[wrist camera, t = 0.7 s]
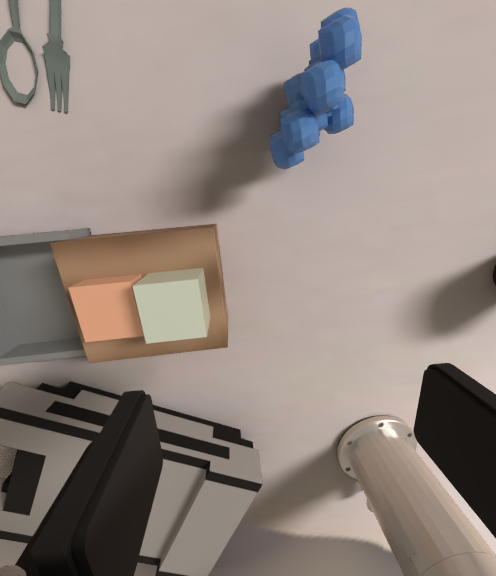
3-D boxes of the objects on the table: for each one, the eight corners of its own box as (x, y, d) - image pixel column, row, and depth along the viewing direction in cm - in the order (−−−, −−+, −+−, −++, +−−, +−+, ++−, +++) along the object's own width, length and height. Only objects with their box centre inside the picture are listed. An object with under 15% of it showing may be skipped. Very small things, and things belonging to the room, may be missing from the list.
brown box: (228, 319, 32) (227, 347, 26) (118, 331, 32) (88, 362, 25) (216, 223, 29) (212, 227, 22) (92, 235, 28) (49, 243, 22)
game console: (33, 363, 33) (-29, 411, 25) (256, 428, 38) (262, 484, 31) (7, 475, 38) (-51, 544, 30) (207, 517, 44) (202, 585, 36)
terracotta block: (151, 323, 24) (143, 335, 22) (99, 329, 24) (85, 342, 22) (140, 274, 23) (130, 281, 21) (85, 279, 23) (68, 287, 20)
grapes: (302, 194, 29) (350, 184, 17) (248, 167, 27) (261, 135, 16) (355, 85, 26) (455, -15, 14) (298, 49, 25) (357, -93, 13)
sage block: (210, 317, 25) (206, 336, 21) (159, 322, 24) (146, 343, 21) (203, 267, 23) (197, 279, 19) (148, 273, 23) (132, 285, 19)
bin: (118, 336, 32) (104, 353, 28) (20, 347, 32) (-9, 366, 28) (89, 228, 28) (67, 231, 24) (-25, 238, 28) (-66, 243, 24)
